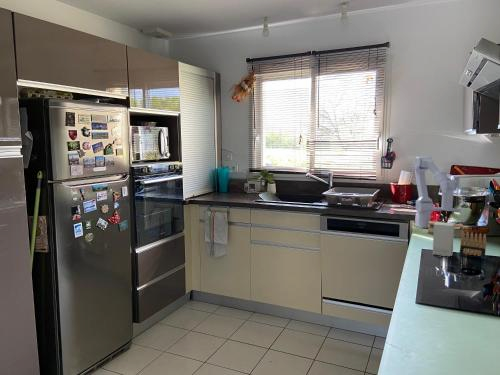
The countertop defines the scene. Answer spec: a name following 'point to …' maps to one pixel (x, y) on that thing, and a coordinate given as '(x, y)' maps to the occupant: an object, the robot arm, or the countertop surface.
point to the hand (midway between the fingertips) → (445, 223)
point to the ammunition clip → (473, 245)
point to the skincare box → (443, 238)
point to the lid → (447, 222)
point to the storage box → (456, 231)
